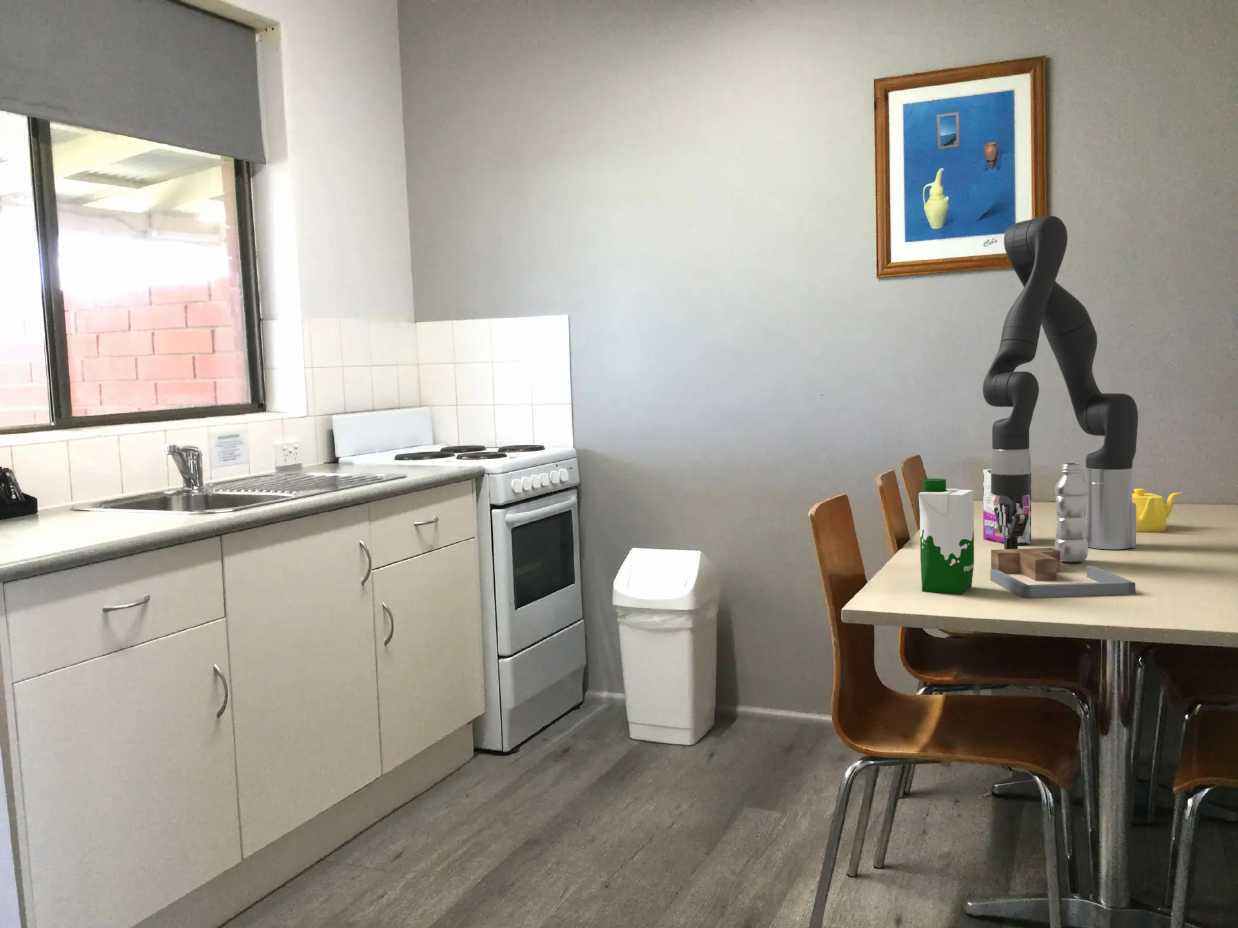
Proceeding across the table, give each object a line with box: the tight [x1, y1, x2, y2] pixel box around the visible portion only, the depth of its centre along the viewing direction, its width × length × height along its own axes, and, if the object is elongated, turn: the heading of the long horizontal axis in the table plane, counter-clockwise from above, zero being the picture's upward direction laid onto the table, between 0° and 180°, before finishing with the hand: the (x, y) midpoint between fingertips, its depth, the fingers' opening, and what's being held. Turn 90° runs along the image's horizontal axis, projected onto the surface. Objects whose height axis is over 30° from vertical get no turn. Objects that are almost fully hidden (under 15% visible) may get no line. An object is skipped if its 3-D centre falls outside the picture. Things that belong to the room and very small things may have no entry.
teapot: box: [1132, 488, 1183, 533], centre depth 253 cm, size 15×14×10 cm
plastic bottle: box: [1053, 462, 1090, 564], centre depth 214 cm, size 6×7×20 cm
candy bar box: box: [982, 468, 1032, 546], centre depth 241 cm, size 11×5×16 cm, turn 18°
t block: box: [990, 547, 1061, 582], centre depth 204 cm, size 12×12×4 cm
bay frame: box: [989, 565, 1136, 599], centre depth 192 cm, size 19×16×2 cm
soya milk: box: [918, 478, 975, 595], centre depth 192 cm, size 9×9×20 cm
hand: (1010, 556), depth 215 cm, fingers closed
